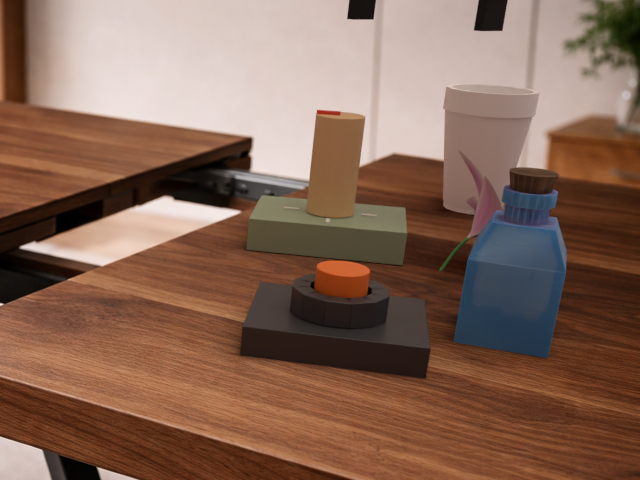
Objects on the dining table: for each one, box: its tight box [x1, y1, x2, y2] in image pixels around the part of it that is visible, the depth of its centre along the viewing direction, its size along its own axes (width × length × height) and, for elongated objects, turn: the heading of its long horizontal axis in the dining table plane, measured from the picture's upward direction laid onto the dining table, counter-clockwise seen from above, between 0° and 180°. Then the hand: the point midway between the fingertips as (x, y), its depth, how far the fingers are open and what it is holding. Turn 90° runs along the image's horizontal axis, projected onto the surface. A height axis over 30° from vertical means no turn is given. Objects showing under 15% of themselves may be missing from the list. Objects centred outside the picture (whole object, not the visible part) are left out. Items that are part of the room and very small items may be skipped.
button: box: [314, 260, 371, 298], centre depth 65 cm, size 4×4×2 cm
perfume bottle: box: [453, 166, 568, 359], centre depth 67 cm, size 6×6×12 cm
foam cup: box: [442, 83, 540, 216], centre depth 104 cm, size 10×9×13 cm
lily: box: [438, 150, 505, 273], centre depth 82 cm, size 12×12×10 cm
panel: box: [245, 194, 408, 266], centre depth 90 cm, size 14×10×3 cm
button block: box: [239, 273, 432, 379], centre depth 66 cm, size 12×10×4 cm
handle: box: [306, 109, 366, 218], centre depth 88 cm, size 4×4×9 cm
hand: (420, 25), depth 82 cm, fingers open, 13 cm apart
